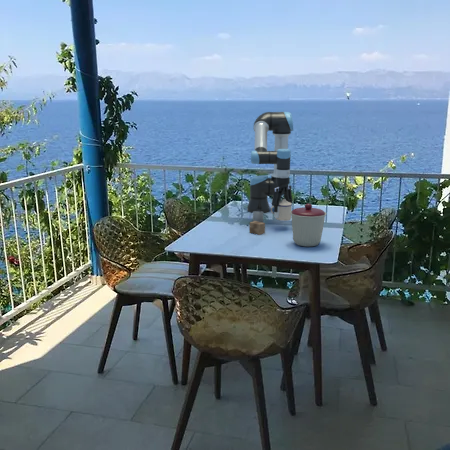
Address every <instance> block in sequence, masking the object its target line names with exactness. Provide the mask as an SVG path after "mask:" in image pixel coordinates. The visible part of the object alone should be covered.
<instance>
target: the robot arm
mask: <svg viewBox="0 0 450 450" xmlns="http://www.w3.org/2000/svg"><path fill="white" fill-rule="evenodd" d="M268 131H271V132H272V135H273V136H274V149H273V150H268ZM292 131H294V119H293V114H292V113H291V112H290V111H266V112H263V113H261V114H259V115H258V116H257V118H256V119H255V120H254V123H253V132H254V150H251V152H250V163H251V164H253V165H254V164H255V165H273V173H271V176H270V177H269V175H265V174H264V175H263V174H262V175H256V176H253V177H251V178H250V181H249V182H250V183H249V187H250V188H249V191H250V192H249V202H248V203H247V204H248V205H247V207H246V208H247V209H246V211H247V212H250V213H253V211H262V212H263V214H264V213H268V212H271V207H272V206H274V207H273V209H274V210H273V212H274V214H273V216H274V218H275V219H276V218H279V206H278V205H279V202H280V201H281V198H282V197H283V199H286V201H288V202H290V203H292V202H293V195H292V178H290V176H291V175H290V173H291V158H292V157H291V156H292V154H291V149H289V136H290V135H291V134H292ZM268 196H272V199H271V200H272V202H271V207H270V204H269V201H268V200H269V199H268ZM292 204H293V203H292Z"/></svg>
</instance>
